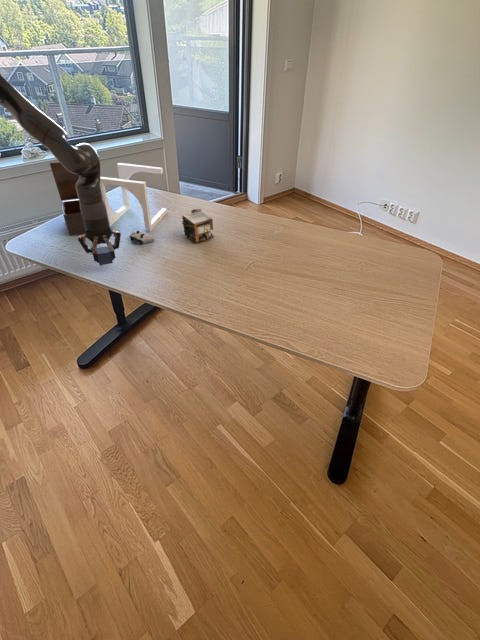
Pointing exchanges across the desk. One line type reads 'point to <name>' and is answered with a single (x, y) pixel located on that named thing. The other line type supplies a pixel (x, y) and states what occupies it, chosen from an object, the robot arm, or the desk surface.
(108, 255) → the block
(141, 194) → the white arched cube frame
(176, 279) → the desk surface
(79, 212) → the storage box
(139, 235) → the game controller
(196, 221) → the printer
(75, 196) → the lid
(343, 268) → the desk surface
